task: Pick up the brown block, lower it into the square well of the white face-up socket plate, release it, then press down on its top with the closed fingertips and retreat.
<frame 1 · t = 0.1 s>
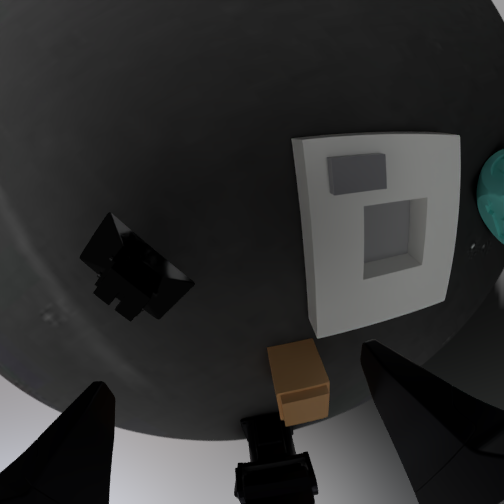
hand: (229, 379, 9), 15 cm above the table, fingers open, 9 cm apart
decorative dice: (493, 188, 23), on the table
brown block: (291, 358, 28), on the table
black angular piece: (136, 266, 23), on the table
socket plate: (379, 225, 23), on the table
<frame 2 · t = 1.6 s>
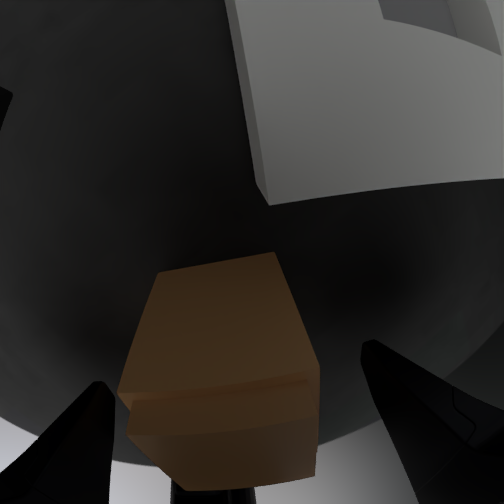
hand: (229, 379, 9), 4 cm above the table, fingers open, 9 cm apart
brown block: (226, 310, 12), on the table
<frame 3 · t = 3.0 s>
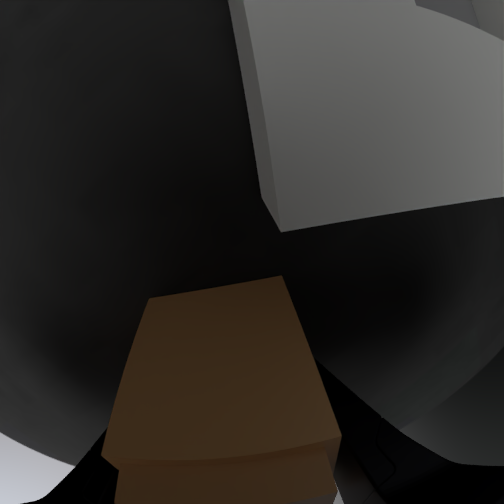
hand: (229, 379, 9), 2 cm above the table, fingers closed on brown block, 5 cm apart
brown block: (227, 339, 10), on the table, touching gripper
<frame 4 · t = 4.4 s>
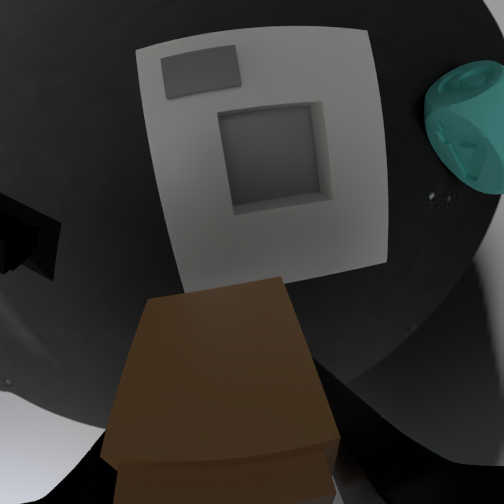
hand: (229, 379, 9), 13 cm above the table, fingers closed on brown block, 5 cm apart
decorative dice: (452, 121, 18), on the table
brown block: (226, 339, 10), point 11 cm above the table, touching gripper
black angular piece: (20, 229, 19), on the table
socket plate: (269, 153, 18), on the table
when the fingers open (3 cm above the table, at t = 6.3 s): brown block stays where it is, resting on socket plate.
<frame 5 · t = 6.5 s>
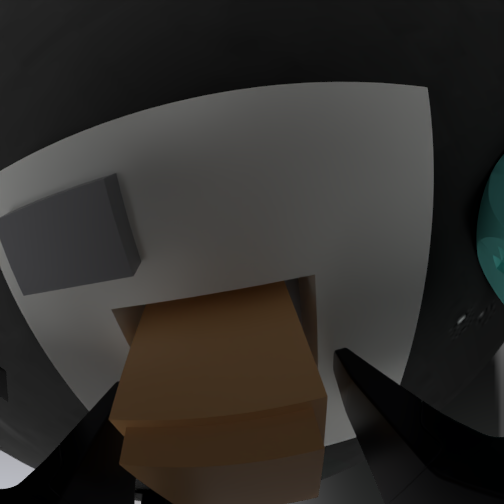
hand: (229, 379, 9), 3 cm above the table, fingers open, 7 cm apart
brown block: (226, 322, 11), resting on socket plate
socket plate: (226, 315, 12), on the table
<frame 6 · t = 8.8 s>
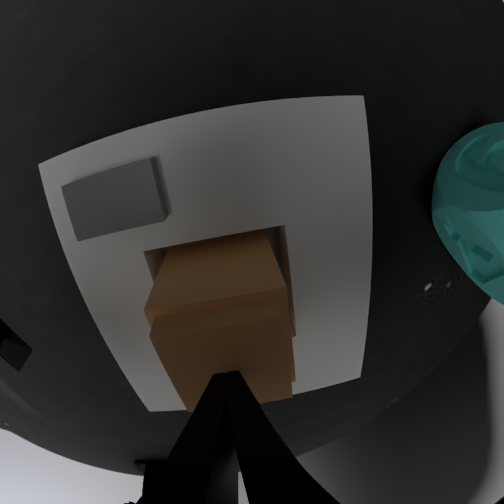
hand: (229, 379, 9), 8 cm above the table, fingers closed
decorative dice: (466, 193, 15), on the table
brown block: (224, 273, 15), resting on socket plate
socket plate: (225, 269, 16), on the table
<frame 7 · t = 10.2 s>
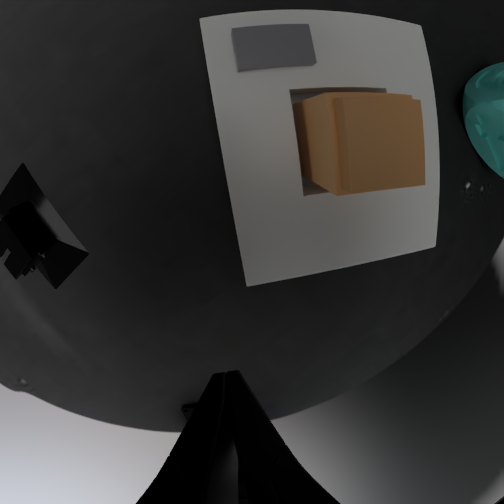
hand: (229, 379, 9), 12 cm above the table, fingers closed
decorative dice: (485, 116, 17), on the table
brown block: (331, 136, 17), resting on socket plate
black angular piece: (41, 226, 18), on the table
socket plate: (329, 136, 17), on the table
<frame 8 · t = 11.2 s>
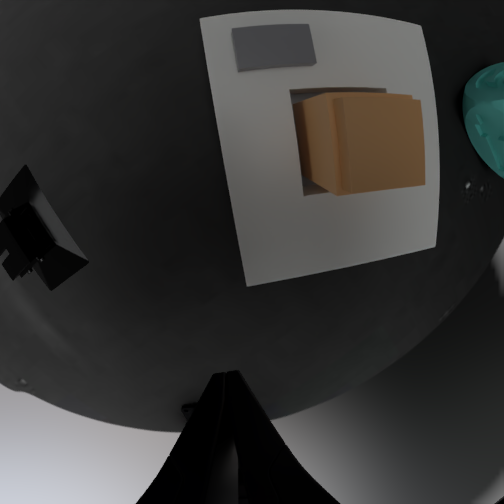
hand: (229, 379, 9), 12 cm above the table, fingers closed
decorative dice: (484, 116, 17), on the table
brown block: (331, 136, 17), resting on socket plate
black angular piece: (39, 228, 18), on the table
socket plate: (329, 136, 17), on the table
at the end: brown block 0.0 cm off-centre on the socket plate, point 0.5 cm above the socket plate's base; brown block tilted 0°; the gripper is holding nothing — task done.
